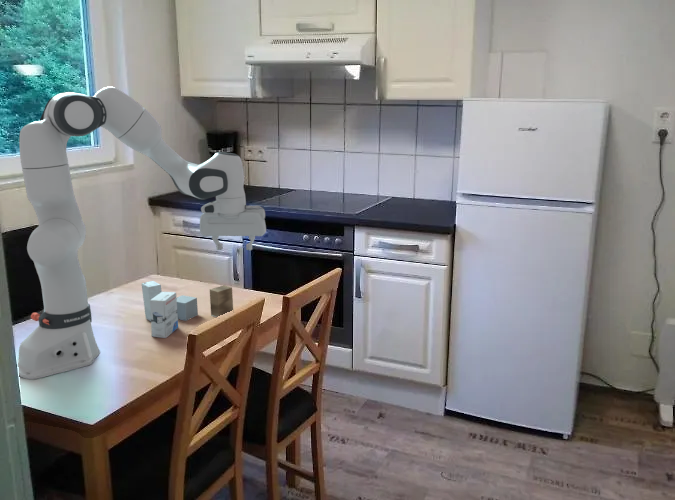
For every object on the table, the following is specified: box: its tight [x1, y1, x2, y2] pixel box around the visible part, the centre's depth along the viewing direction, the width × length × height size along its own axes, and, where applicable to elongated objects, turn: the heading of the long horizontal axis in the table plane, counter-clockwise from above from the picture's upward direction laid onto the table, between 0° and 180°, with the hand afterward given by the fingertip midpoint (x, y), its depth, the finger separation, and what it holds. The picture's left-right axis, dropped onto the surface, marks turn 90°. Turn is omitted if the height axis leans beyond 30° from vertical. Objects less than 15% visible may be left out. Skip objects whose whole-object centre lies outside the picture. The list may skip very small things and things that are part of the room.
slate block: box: [176, 294, 199, 322], centre depth 204 cm, size 6×6×6 cm
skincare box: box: [141, 280, 163, 322], centre depth 201 cm, size 6×4×12 cm
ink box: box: [150, 291, 179, 339], centre depth 190 cm, size 9×5×12 cm, turn 168°
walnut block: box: [209, 284, 234, 318], centre depth 205 cm, size 6×4×9 cm, turn 139°
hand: (234, 249), depth 195 cm, fingers open, 8 cm apart
